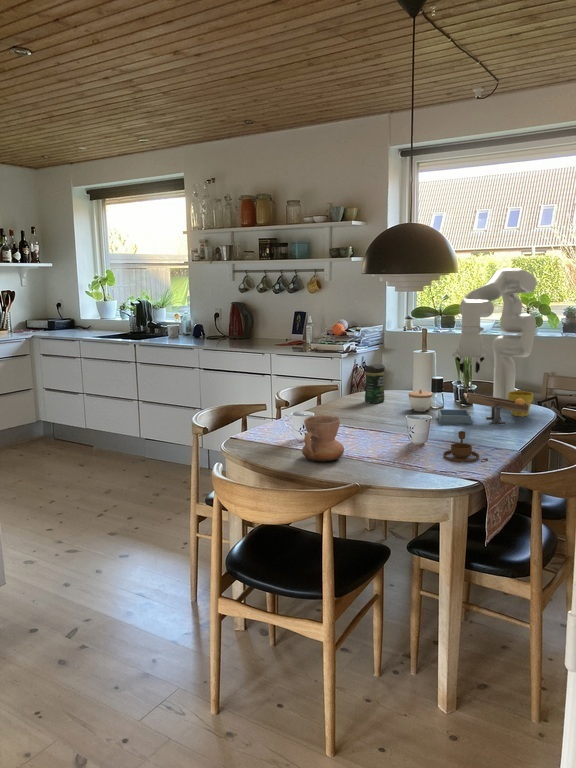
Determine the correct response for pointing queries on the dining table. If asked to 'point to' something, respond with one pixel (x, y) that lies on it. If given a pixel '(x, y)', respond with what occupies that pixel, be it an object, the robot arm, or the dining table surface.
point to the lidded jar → (420, 400)
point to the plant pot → (523, 395)
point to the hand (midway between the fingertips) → (469, 371)
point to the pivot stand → (495, 415)
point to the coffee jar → (374, 383)
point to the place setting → (461, 451)
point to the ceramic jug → (322, 438)
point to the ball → (520, 401)
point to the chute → (495, 402)
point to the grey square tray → (454, 416)
